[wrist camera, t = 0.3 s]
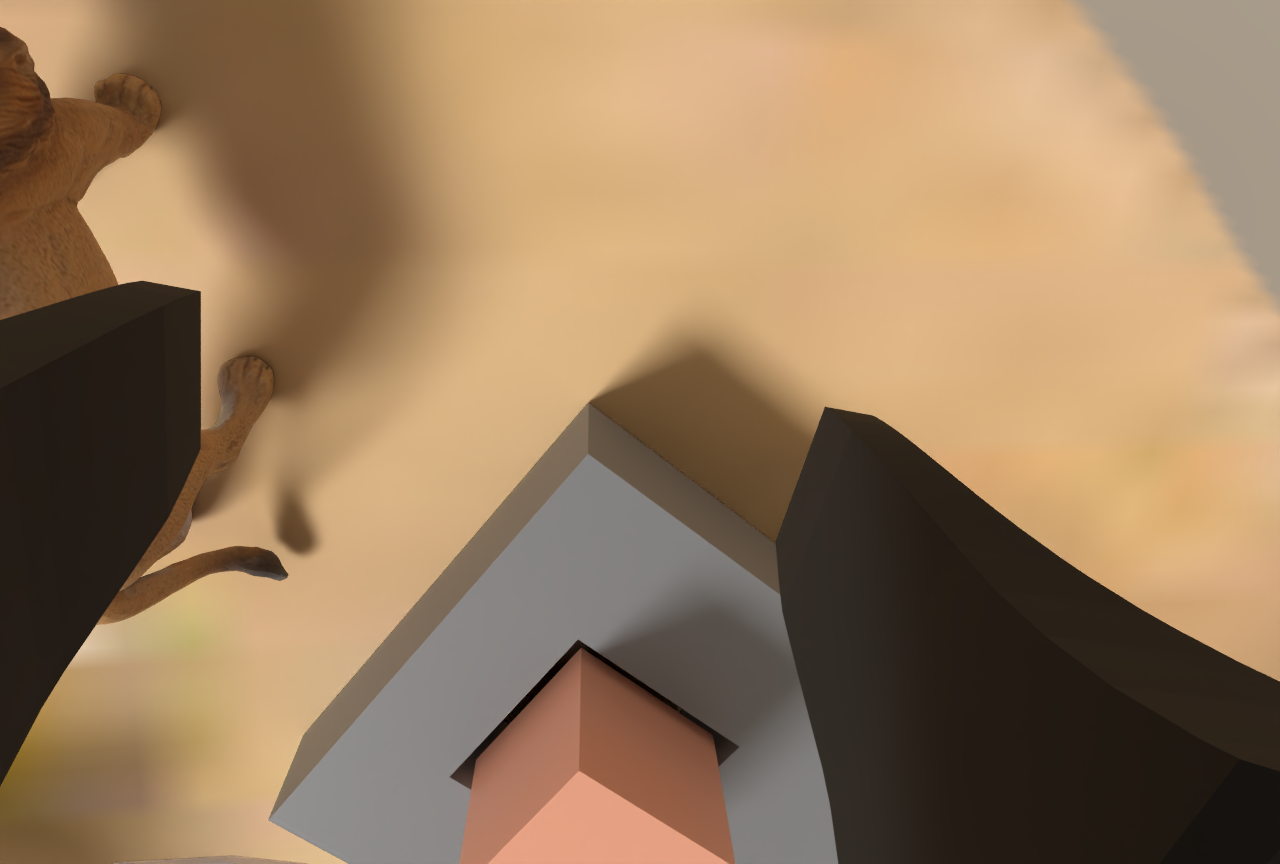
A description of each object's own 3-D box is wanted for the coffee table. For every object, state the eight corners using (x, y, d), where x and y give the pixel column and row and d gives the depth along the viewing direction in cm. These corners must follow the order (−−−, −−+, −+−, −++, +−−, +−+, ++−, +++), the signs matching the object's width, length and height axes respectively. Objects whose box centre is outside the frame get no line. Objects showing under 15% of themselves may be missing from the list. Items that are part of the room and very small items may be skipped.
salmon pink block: (607, 838, 24) (609, 983, 20) (476, 759, 23) (453, 897, 19) (713, 735, 23) (736, 868, 19) (581, 647, 22) (579, 770, 18)
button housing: (842, 1045, 31) (867, 1143, 28) (303, 735, 26) (268, 819, 23) (1132, 812, 28) (1191, 897, 25) (588, 402, 22) (587, 453, 20)
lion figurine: (-189, -18, 19) (-822, -64, 10) (58, -125, 18) (-396, -261, 10) (199, 598, 24) (-10, 896, 16) (396, 528, 24) (290, 797, 15)
